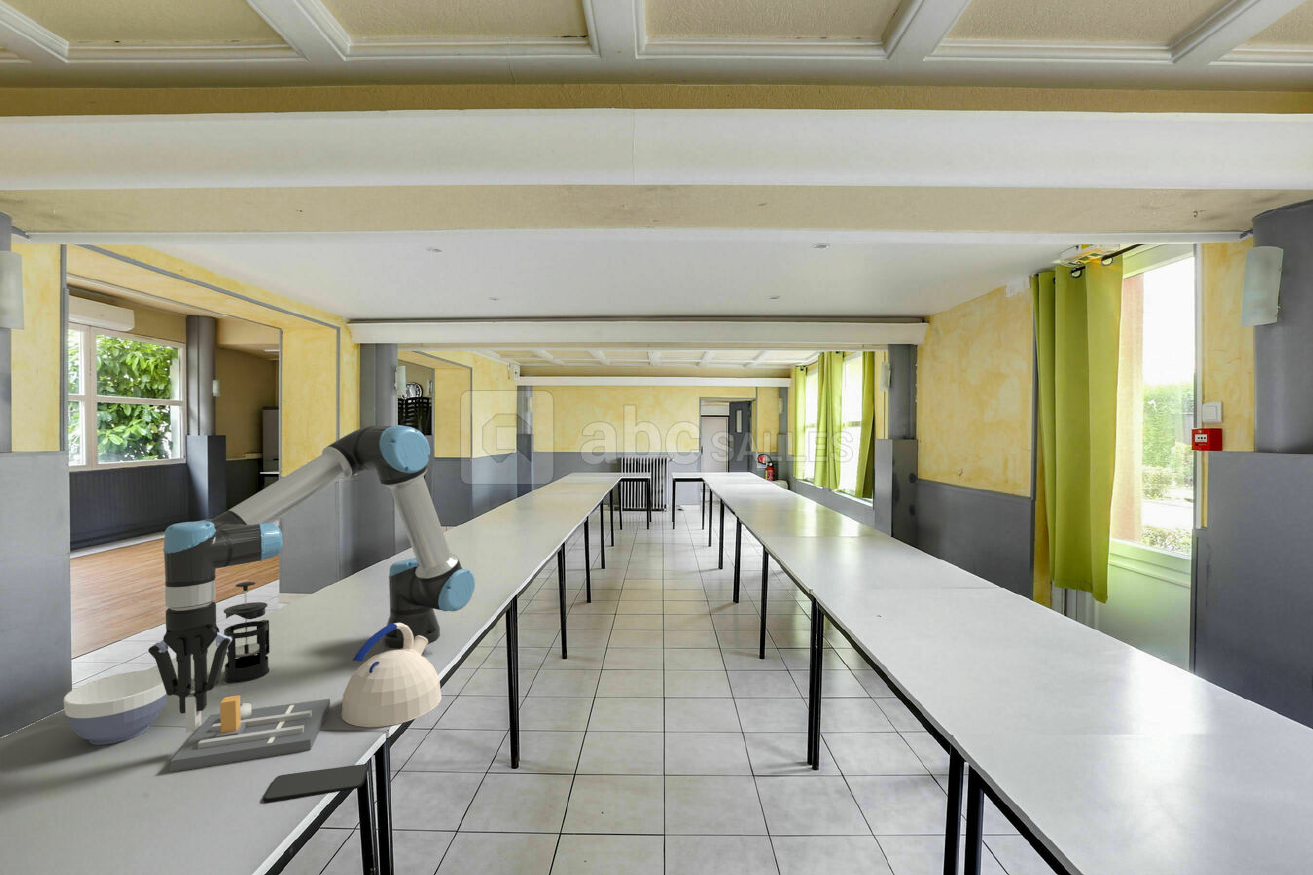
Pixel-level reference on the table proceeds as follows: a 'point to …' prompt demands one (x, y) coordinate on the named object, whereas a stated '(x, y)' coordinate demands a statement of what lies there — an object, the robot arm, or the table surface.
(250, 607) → the french press
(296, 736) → the console board
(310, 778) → the smartphone
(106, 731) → the bowl
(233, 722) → the fader tab
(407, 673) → the kettle
